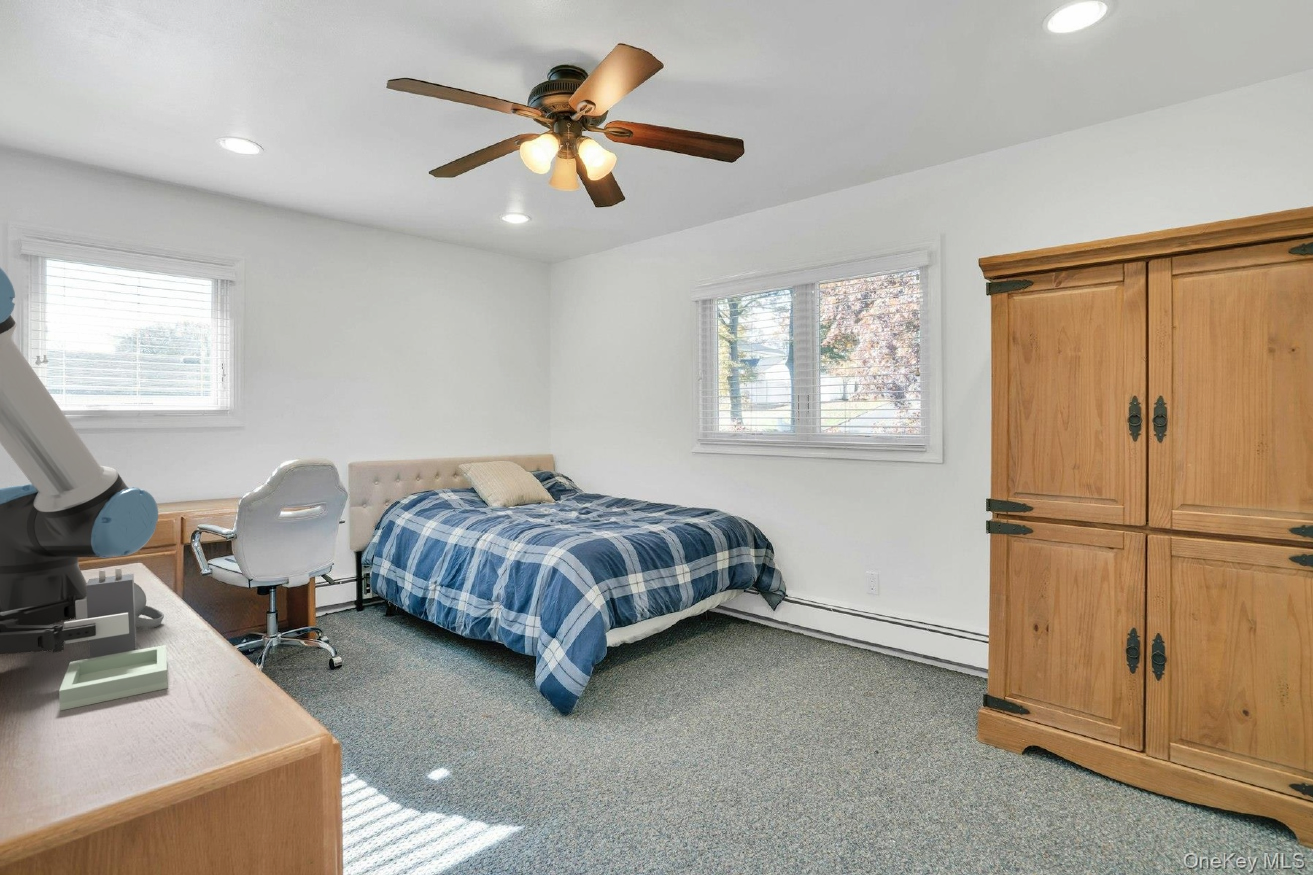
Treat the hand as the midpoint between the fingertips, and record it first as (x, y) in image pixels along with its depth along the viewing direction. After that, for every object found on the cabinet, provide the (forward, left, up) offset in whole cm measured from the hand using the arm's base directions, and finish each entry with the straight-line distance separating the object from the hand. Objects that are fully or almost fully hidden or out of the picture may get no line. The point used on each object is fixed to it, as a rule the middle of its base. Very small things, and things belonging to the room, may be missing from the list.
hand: (130, 611), depth 96 cm
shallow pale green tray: (+14, -1, -6) cm, 15 cm away
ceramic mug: (-16, -2, -6) cm, 17 cm away
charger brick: (0, -2, -6) cm, 6 cm away
